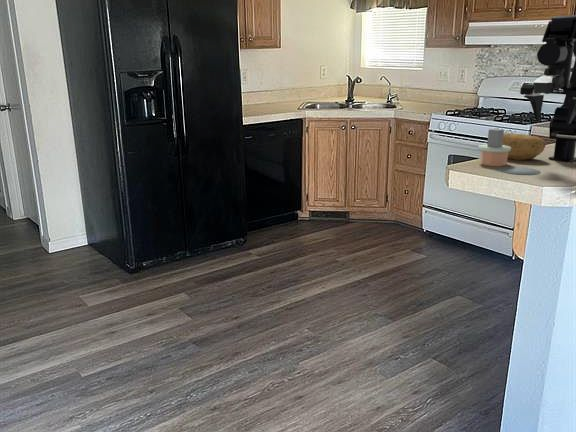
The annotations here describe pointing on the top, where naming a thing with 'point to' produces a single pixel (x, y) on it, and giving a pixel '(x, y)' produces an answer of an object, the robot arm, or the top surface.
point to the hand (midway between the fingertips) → (552, 122)
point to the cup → (493, 158)
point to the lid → (495, 142)
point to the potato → (523, 146)
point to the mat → (519, 171)
